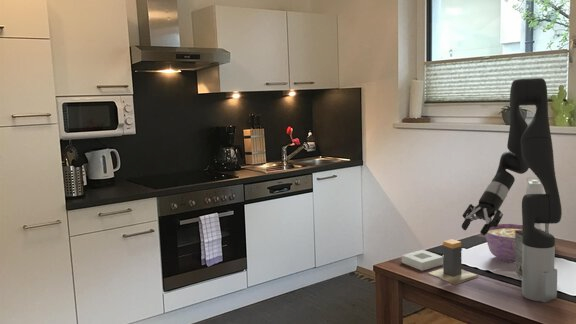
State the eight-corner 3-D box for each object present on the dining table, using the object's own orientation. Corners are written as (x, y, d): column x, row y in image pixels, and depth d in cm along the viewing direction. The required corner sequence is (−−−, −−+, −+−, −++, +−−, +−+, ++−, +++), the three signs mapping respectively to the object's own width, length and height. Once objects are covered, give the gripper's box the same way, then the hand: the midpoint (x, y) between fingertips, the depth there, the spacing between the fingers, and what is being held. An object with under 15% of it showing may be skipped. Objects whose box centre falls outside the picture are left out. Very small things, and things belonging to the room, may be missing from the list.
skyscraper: (534, 244, 212) (535, 179, 208) (519, 239, 220) (520, 176, 216) (550, 242, 215) (551, 177, 211) (535, 237, 223) (536, 174, 219)
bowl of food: (528, 250, 206) (529, 223, 204) (549, 267, 186) (549, 237, 184) (477, 251, 208) (477, 224, 206) (492, 268, 188) (492, 238, 186)
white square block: (443, 265, 194) (443, 256, 193) (422, 271, 188) (422, 262, 188) (422, 258, 203) (422, 249, 203) (401, 263, 198) (401, 255, 198)
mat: (477, 277, 181) (477, 275, 180) (453, 284, 175) (453, 282, 175) (451, 267, 191) (451, 265, 191) (428, 274, 185) (427, 272, 185)
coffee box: (539, 271, 183) (540, 228, 181) (549, 278, 176) (550, 233, 174) (514, 273, 183) (515, 230, 180) (523, 279, 176) (523, 235, 174)
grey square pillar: (461, 274, 182) (461, 241, 180) (452, 276, 180) (452, 244, 178) (452, 270, 186) (451, 239, 184) (443, 273, 184) (443, 241, 182)
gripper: (473, 187, 194) (452, 221, 190) (505, 193, 182) (483, 229, 178) (483, 199, 198) (462, 233, 194) (515, 205, 185) (493, 241, 181)
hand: (472, 231), depth 186 cm, fingers open, 8 cm apart
